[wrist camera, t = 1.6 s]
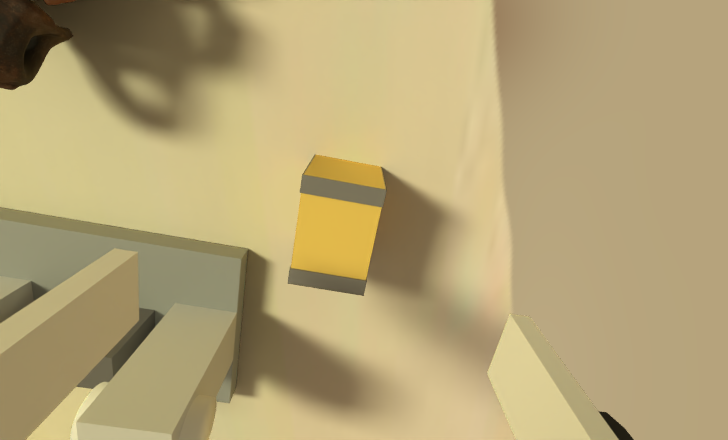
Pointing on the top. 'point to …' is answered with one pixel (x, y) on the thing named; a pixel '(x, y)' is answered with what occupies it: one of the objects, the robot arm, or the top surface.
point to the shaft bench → (154, 265)
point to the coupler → (336, 224)
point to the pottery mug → (26, 40)
